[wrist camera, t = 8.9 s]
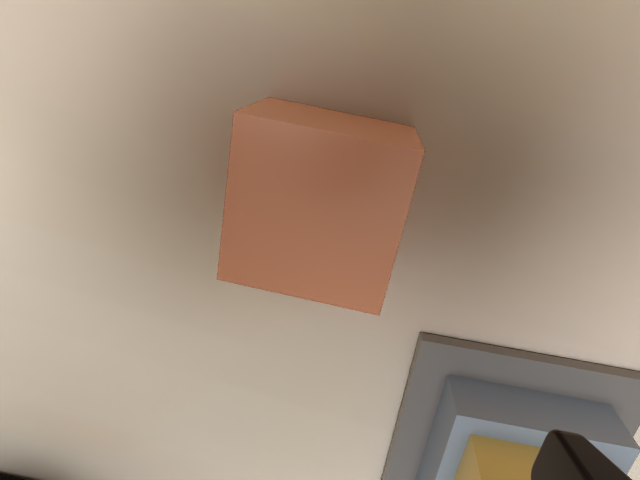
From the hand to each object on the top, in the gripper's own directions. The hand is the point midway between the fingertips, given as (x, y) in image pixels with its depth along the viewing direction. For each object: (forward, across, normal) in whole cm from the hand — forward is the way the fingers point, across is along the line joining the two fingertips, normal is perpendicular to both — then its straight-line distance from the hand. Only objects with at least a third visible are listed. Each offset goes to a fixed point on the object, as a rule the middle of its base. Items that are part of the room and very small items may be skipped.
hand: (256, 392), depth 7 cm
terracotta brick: (+12, 0, 0) cm, 12 cm away
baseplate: (+12, -10, +11) cm, 19 cm away
